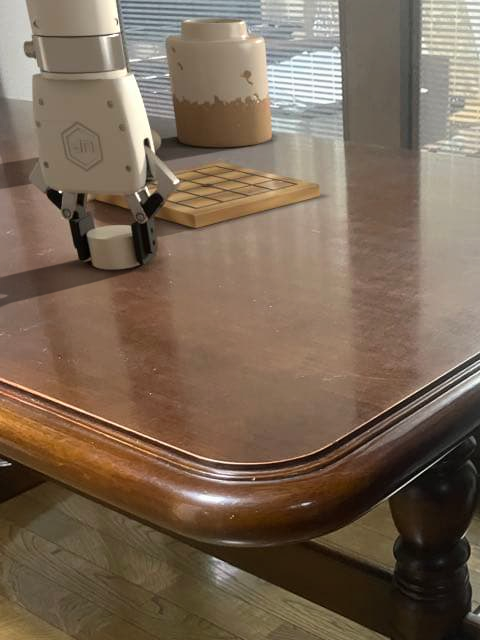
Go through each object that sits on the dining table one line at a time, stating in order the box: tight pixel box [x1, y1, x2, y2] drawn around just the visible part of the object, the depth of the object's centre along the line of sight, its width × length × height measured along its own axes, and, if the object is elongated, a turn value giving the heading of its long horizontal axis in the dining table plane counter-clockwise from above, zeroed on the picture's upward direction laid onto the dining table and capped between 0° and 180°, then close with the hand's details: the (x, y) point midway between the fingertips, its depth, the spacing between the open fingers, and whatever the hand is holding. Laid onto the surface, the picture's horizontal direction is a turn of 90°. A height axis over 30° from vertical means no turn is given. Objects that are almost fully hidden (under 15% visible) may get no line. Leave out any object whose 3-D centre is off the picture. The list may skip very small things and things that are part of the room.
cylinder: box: [86, 224, 141, 271], centre depth 88 cm, size 5×5×3 cm
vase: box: [164, 17, 273, 148], centre depth 139 cm, size 15×15×17 cm
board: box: [94, 161, 321, 229], centre depth 111 cm, size 20×20×2 cm
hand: (117, 256), depth 89 cm, fingers open, 5 cm apart
